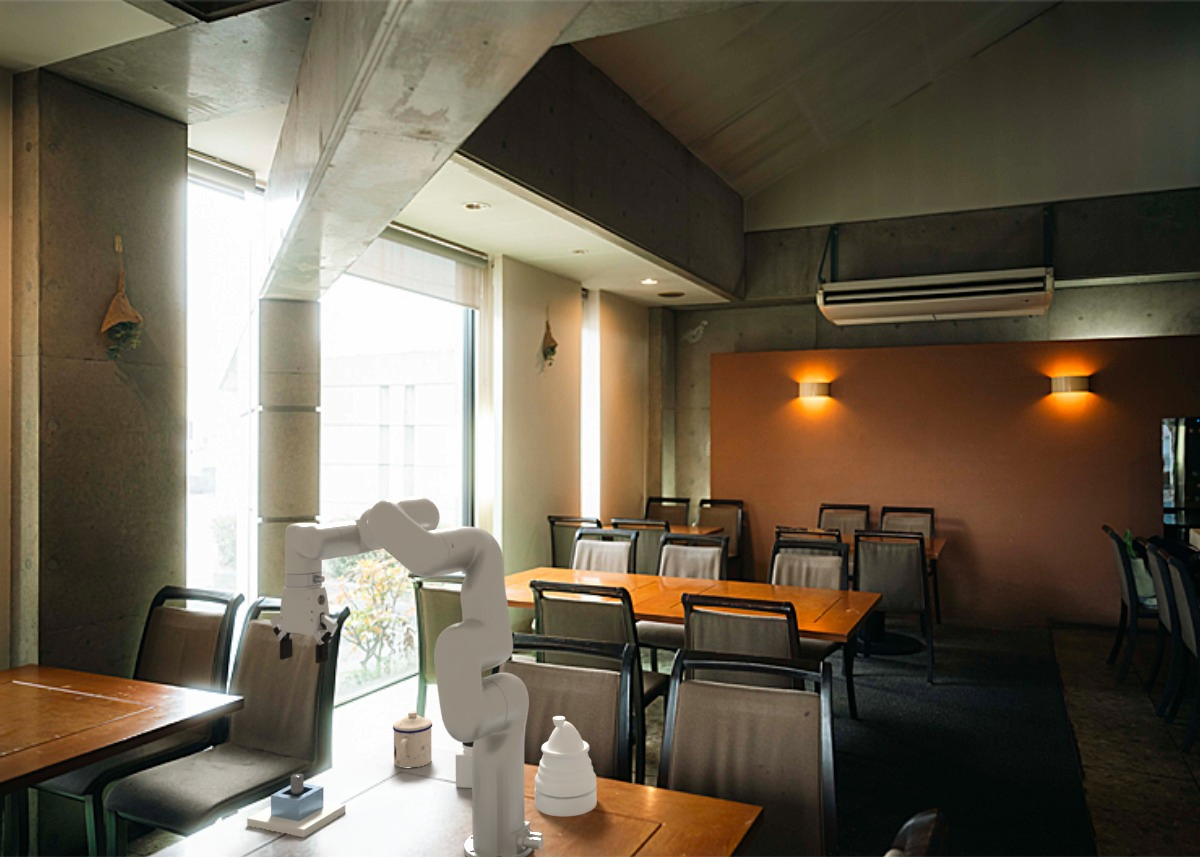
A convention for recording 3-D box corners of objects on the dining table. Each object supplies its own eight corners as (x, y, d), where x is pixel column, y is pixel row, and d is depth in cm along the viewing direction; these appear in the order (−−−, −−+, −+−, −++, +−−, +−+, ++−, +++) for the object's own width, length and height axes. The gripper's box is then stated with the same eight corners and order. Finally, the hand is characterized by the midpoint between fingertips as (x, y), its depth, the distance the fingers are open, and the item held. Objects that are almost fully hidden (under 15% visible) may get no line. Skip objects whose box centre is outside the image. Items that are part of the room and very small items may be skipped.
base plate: (345, 812, 172) (345, 804, 172) (303, 837, 161) (303, 829, 161) (291, 802, 177) (291, 794, 177) (247, 825, 166) (247, 818, 166)
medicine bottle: (486, 789, 183) (486, 733, 183) (455, 787, 184) (454, 731, 184) (497, 777, 190) (496, 723, 190) (466, 775, 191) (466, 721, 191)
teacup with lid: (400, 754, 204) (400, 706, 205) (437, 755, 203) (437, 706, 204) (382, 773, 193) (382, 721, 193) (421, 774, 192) (421, 722, 192)
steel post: (307, 809, 170) (307, 774, 170) (297, 815, 167) (297, 779, 167) (296, 807, 171) (296, 772, 171) (286, 813, 168) (286, 777, 168)
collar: (323, 807, 171) (323, 787, 171) (298, 821, 164) (298, 800, 165) (296, 802, 174) (296, 782, 174) (270, 815, 167) (270, 795, 167)
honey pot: (570, 822, 166) (569, 729, 167) (521, 806, 174) (521, 717, 175) (609, 800, 177) (608, 713, 177) (561, 786, 184) (561, 702, 185)
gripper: (347, 579, 184) (347, 659, 183) (284, 576, 190) (284, 653, 190) (323, 585, 177) (324, 667, 176) (259, 581, 183) (259, 660, 183)
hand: (303, 660), depth 183 cm, fingers open, 9 cm apart
